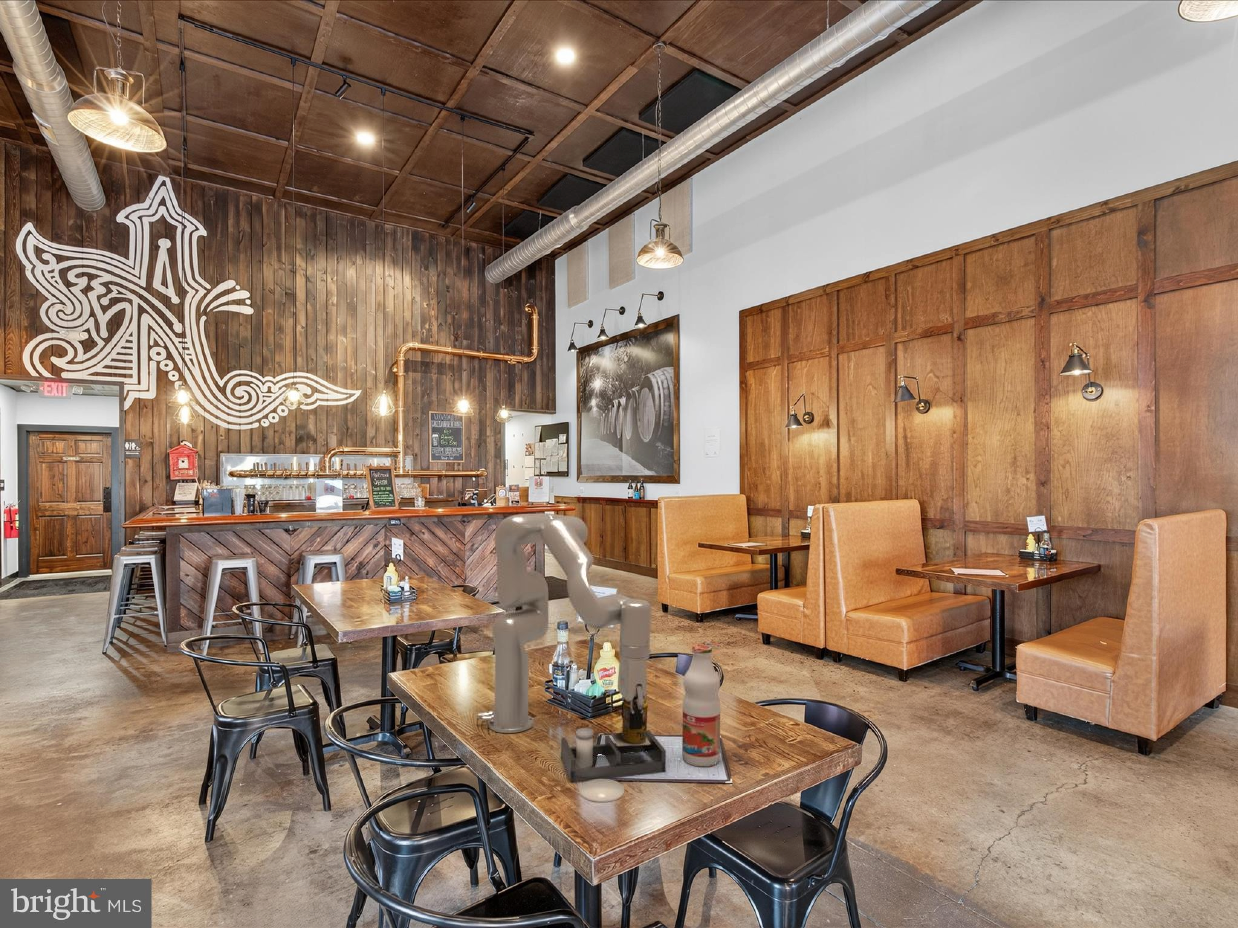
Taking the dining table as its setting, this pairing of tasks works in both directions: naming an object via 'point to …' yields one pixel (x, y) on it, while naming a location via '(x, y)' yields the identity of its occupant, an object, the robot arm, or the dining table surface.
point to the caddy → (615, 760)
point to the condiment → (634, 735)
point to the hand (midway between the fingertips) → (631, 722)
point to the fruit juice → (701, 710)
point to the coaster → (601, 790)
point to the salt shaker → (584, 748)
